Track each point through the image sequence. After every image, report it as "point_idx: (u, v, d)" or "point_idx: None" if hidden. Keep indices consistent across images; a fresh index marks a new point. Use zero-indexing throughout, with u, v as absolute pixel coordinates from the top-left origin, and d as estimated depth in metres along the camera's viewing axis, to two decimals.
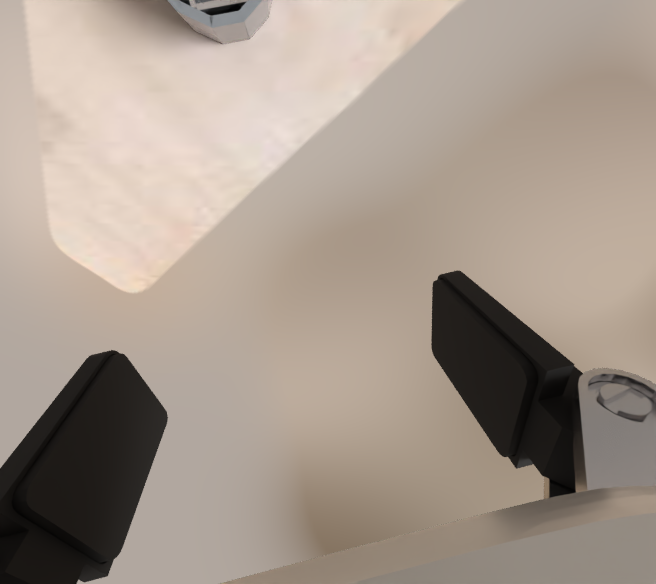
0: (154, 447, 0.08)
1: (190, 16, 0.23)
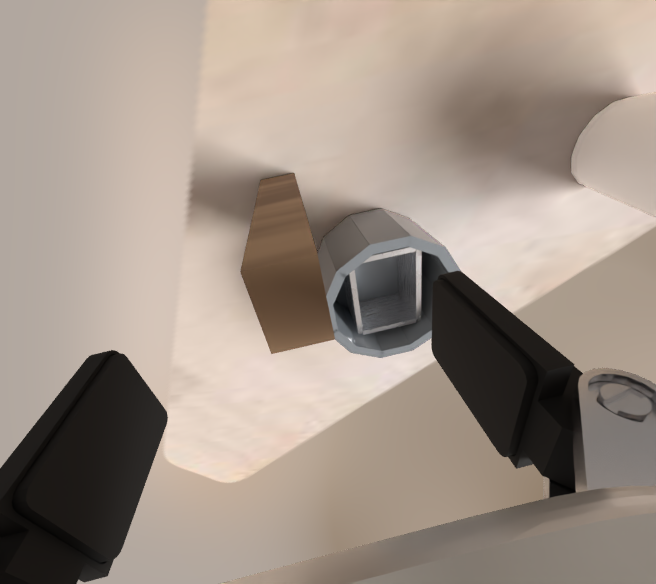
0: (154, 447, 0.08)
1: (362, 353, 0.23)
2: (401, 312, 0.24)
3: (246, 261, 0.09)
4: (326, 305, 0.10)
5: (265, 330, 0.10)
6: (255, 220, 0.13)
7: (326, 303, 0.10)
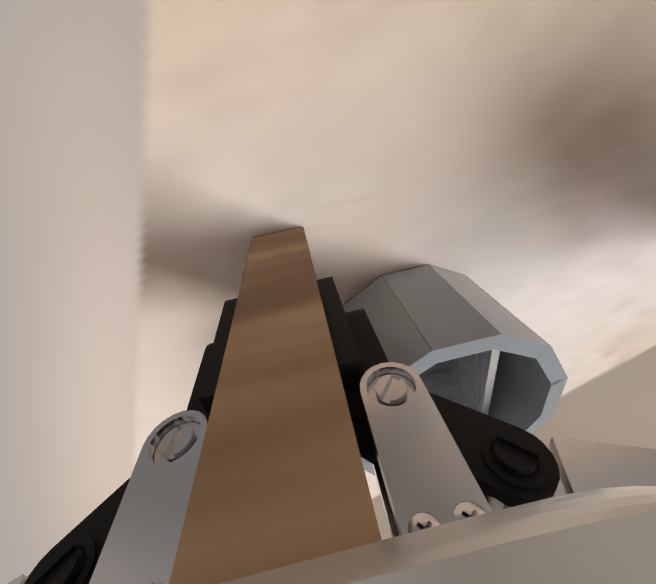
0: None
1: None
2: None
3: None
4: None
5: None
6: (224, 386, 0.06)
7: None
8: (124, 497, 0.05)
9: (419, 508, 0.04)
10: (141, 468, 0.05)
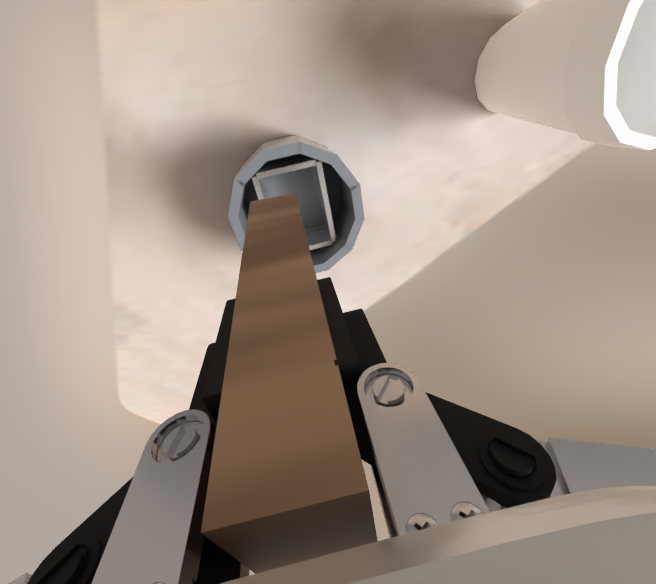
0: None
1: None
2: (320, 237, 0.26)
3: (216, 478, 0.05)
4: (372, 532, 0.05)
5: (257, 570, 0.05)
6: (240, 311, 0.08)
7: (373, 530, 0.05)
8: (127, 496, 0.05)
9: (417, 509, 0.04)
10: (144, 467, 0.05)
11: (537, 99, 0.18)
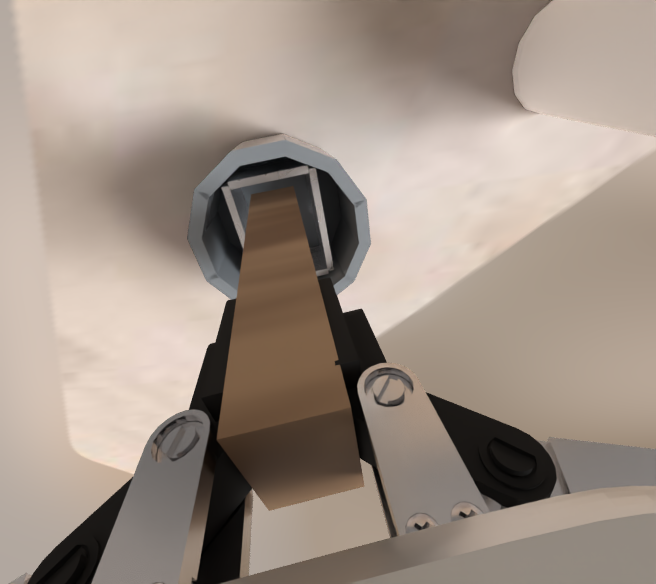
0: None
1: None
2: None
3: (228, 404, 0.06)
4: (357, 458, 0.06)
5: (260, 491, 0.07)
6: (243, 284, 0.09)
7: (357, 455, 0.06)
8: (127, 496, 0.05)
9: (417, 509, 0.04)
10: (144, 467, 0.05)
11: (617, 89, 0.13)
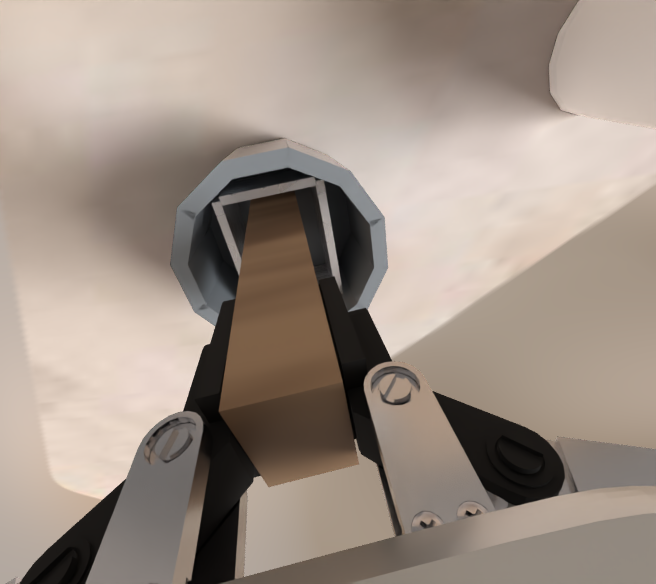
0: None
1: None
2: None
3: (229, 381, 0.06)
4: (350, 434, 0.07)
5: (259, 466, 0.07)
6: (244, 275, 0.09)
7: (350, 431, 0.07)
8: (119, 499, 0.05)
9: (423, 507, 0.04)
10: (136, 470, 0.05)
11: None
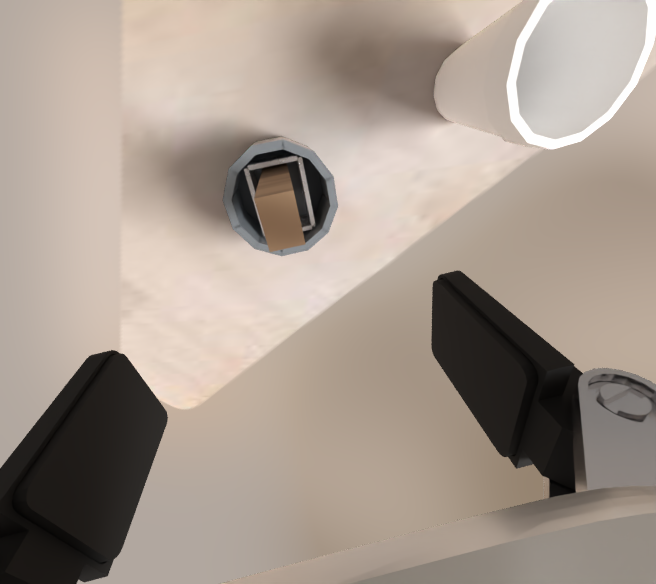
0: (154, 447, 0.08)
1: (265, 250, 0.28)
2: (302, 223, 0.30)
3: (256, 195, 0.18)
4: (299, 221, 0.19)
5: (266, 235, 0.19)
6: (260, 183, 0.22)
7: (299, 220, 0.18)
8: None
9: None
10: None
11: (472, 109, 0.23)
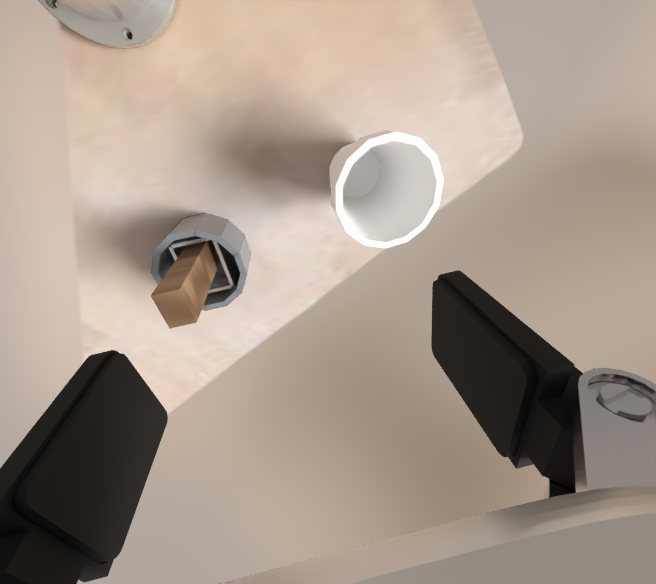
0: (154, 447, 0.08)
1: None
2: (225, 282, 0.37)
3: (155, 291, 0.25)
4: (188, 308, 0.25)
5: (165, 318, 0.25)
6: (170, 269, 0.28)
7: (188, 307, 0.25)
8: None
9: None
10: None
11: None
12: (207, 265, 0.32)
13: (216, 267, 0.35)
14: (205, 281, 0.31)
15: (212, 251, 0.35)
